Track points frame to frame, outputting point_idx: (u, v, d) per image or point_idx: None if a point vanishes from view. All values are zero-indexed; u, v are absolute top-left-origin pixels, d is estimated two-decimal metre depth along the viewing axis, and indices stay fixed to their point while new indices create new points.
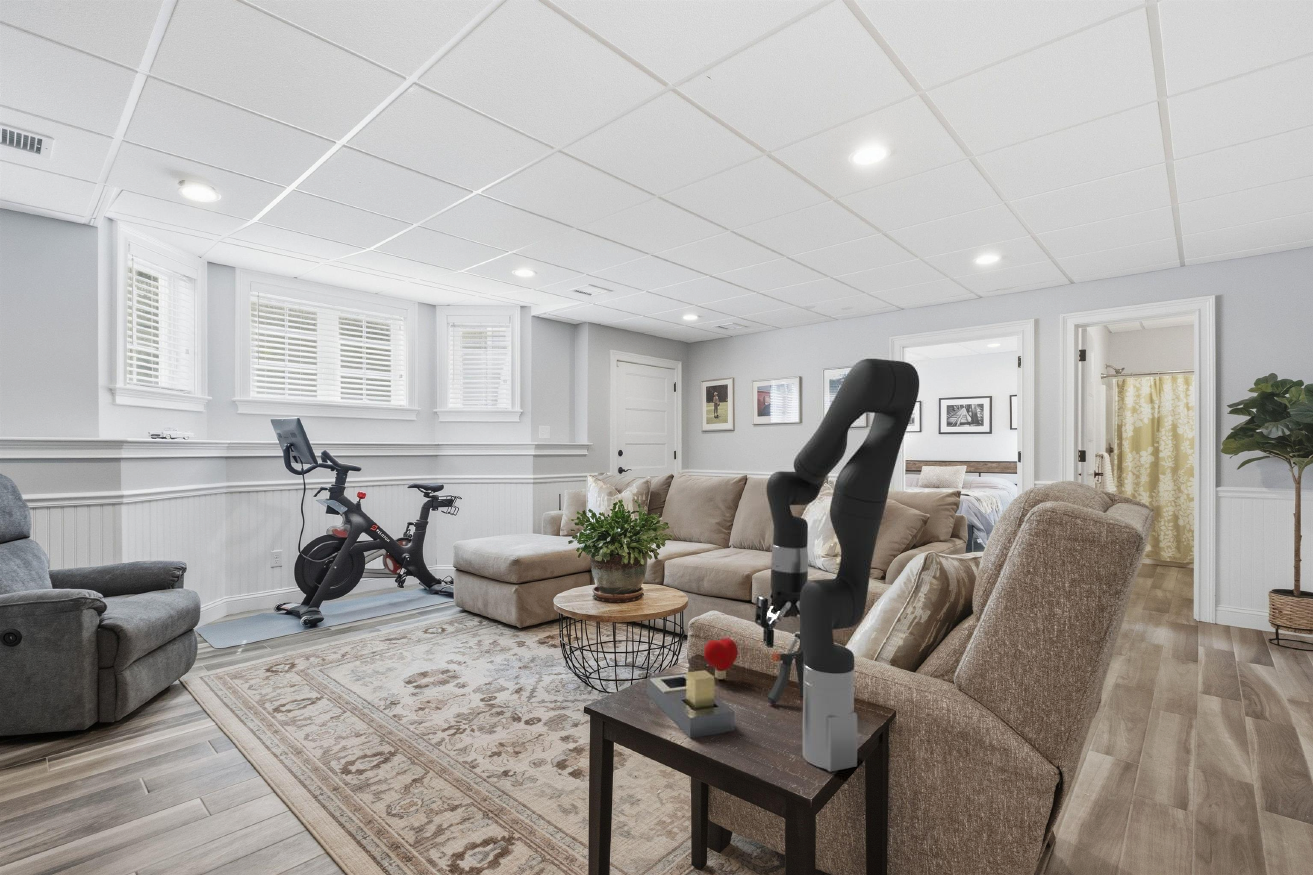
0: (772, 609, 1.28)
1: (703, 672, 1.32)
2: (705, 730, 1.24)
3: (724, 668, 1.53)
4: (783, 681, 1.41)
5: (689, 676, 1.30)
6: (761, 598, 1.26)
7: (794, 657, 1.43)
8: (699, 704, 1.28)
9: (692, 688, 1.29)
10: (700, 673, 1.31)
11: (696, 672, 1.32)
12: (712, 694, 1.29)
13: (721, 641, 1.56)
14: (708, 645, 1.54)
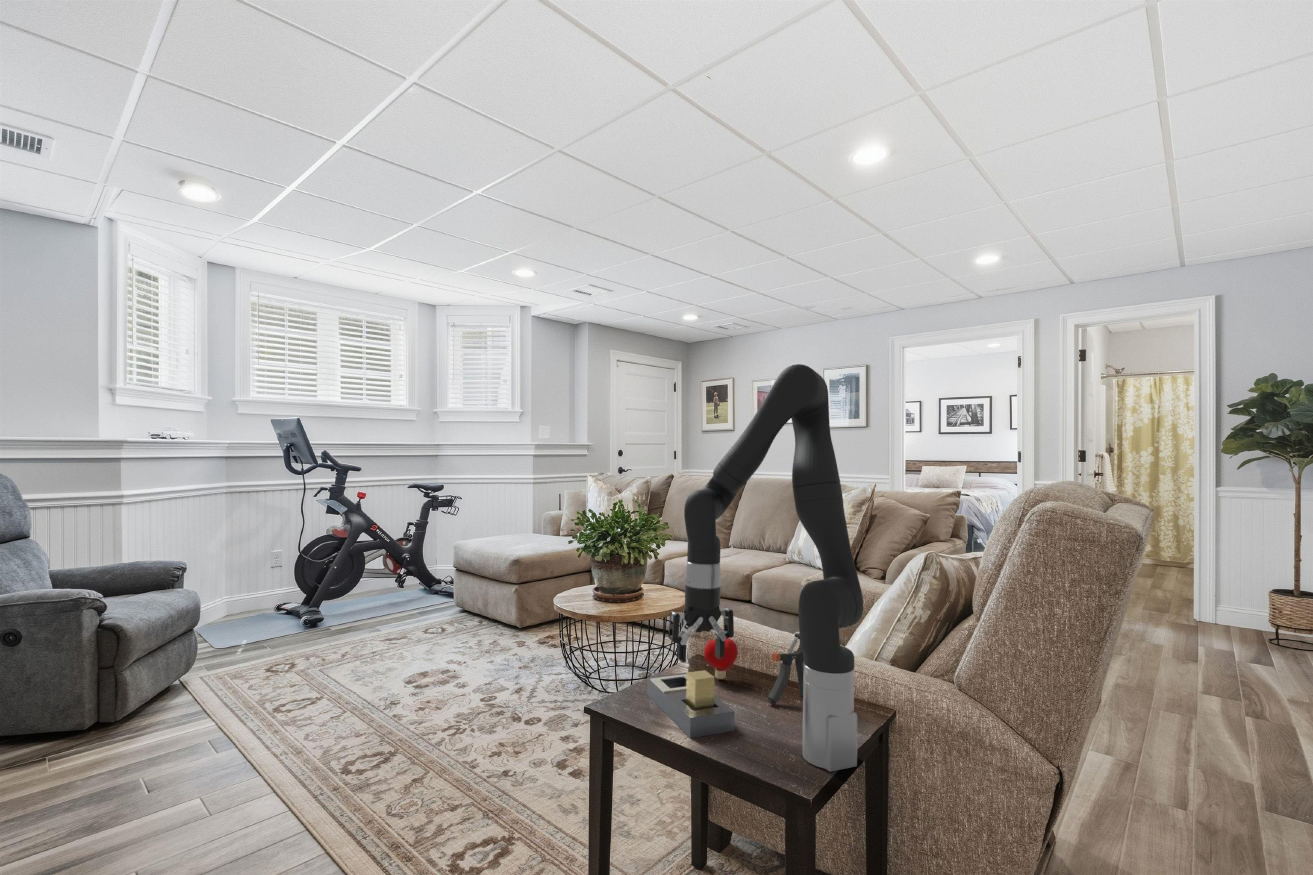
0: (686, 624, 1.31)
1: (703, 672, 1.32)
2: (705, 730, 1.24)
3: (724, 668, 1.53)
4: (783, 681, 1.41)
5: (689, 676, 1.30)
6: (673, 613, 1.28)
7: (794, 657, 1.43)
8: (699, 704, 1.28)
9: (692, 688, 1.29)
10: (700, 673, 1.31)
11: (696, 672, 1.32)
12: (712, 694, 1.29)
13: None
14: (708, 645, 1.54)
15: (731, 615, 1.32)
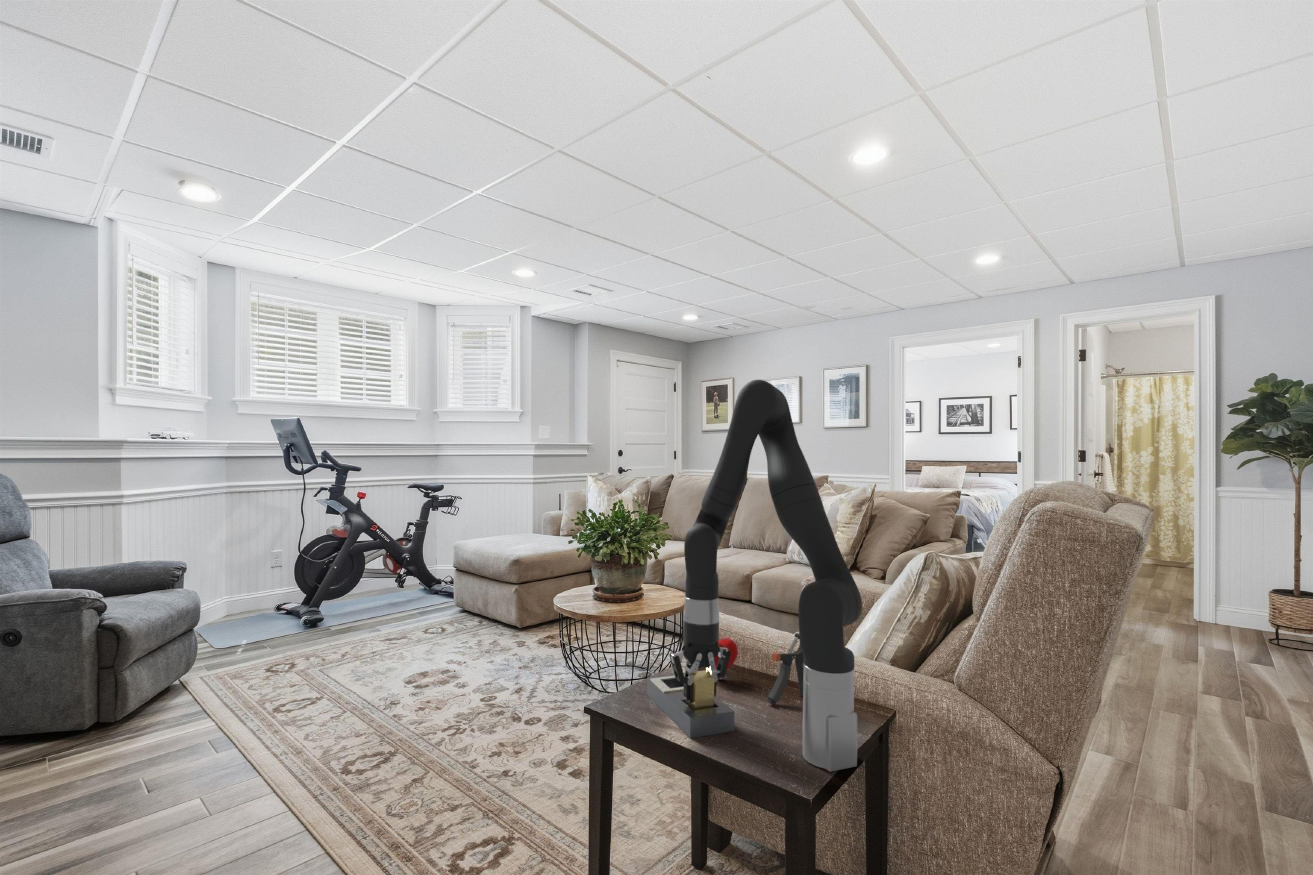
0: None
1: (703, 672, 1.32)
2: (705, 730, 1.24)
3: None
4: (783, 681, 1.41)
5: None
6: (672, 656, 1.28)
7: (794, 657, 1.43)
8: (699, 703, 1.28)
9: None
10: (700, 673, 1.31)
11: None
12: (712, 694, 1.29)
13: (721, 641, 1.56)
14: None
15: (728, 656, 1.32)
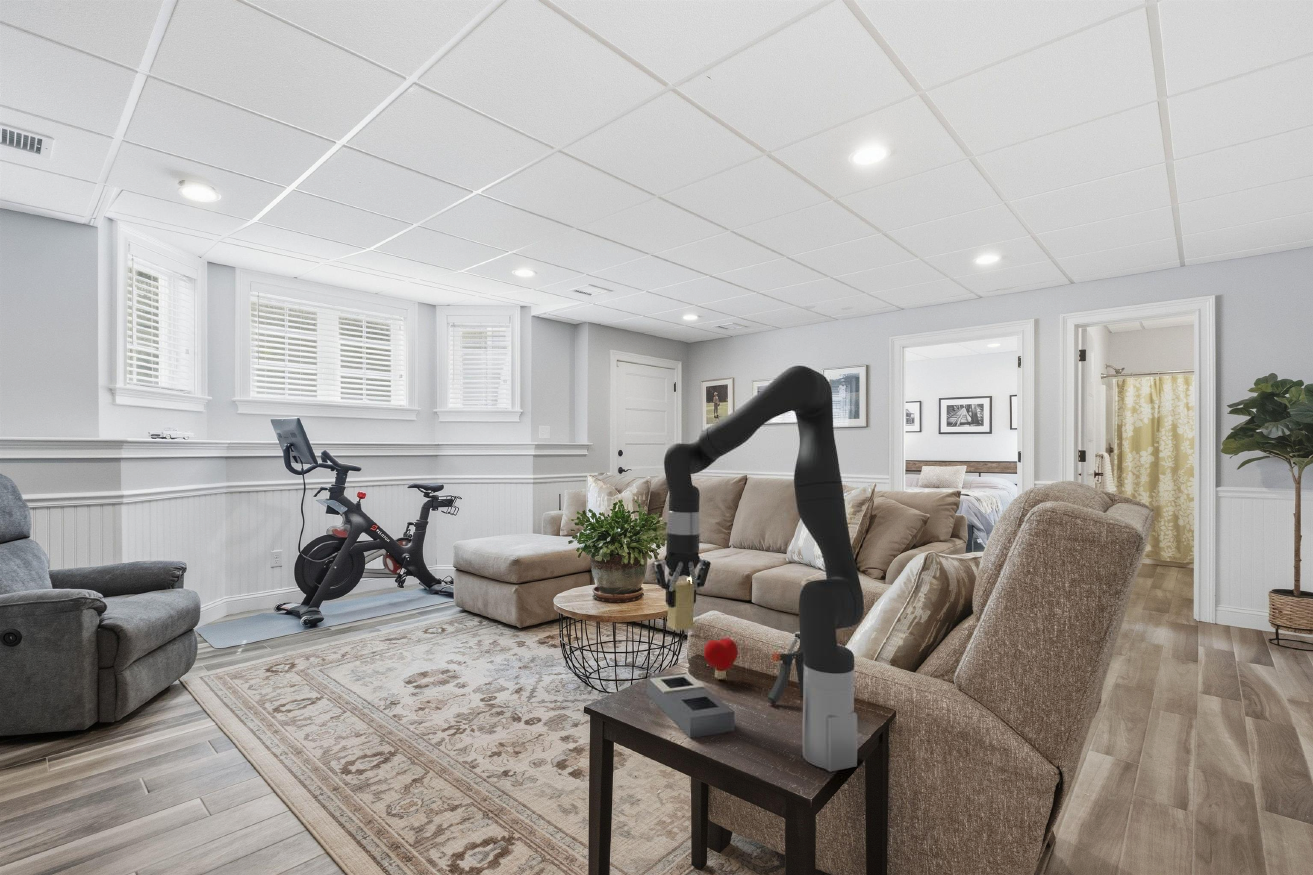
0: (670, 571, 1.41)
1: (684, 581, 1.42)
2: (705, 730, 1.24)
3: (724, 668, 1.53)
4: (783, 681, 1.41)
5: None
6: (655, 564, 1.38)
7: (794, 657, 1.43)
8: (679, 608, 1.38)
9: None
10: (681, 582, 1.41)
11: (677, 581, 1.42)
12: (692, 600, 1.39)
13: (721, 641, 1.56)
14: (708, 645, 1.54)
15: (708, 567, 1.42)
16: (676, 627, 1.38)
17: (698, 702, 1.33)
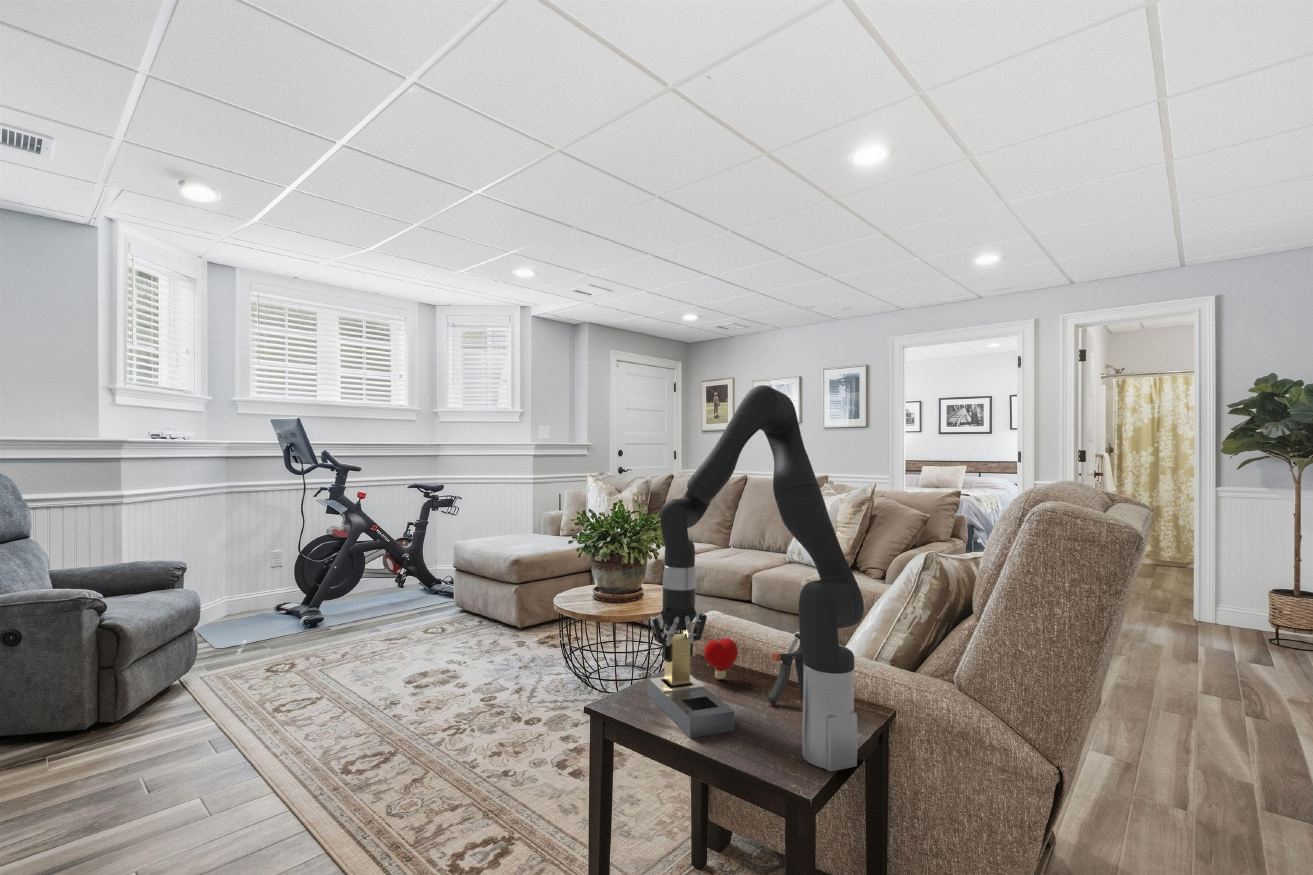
0: (667, 625, 1.42)
1: (680, 635, 1.43)
2: (705, 730, 1.24)
3: (724, 668, 1.53)
4: (783, 681, 1.41)
5: None
6: (652, 619, 1.39)
7: (794, 657, 1.43)
8: (676, 663, 1.39)
9: None
10: (678, 636, 1.42)
11: (674, 635, 1.43)
12: (688, 654, 1.40)
13: (721, 641, 1.56)
14: (708, 645, 1.54)
15: (704, 620, 1.43)
16: (673, 682, 1.39)
17: (698, 702, 1.33)
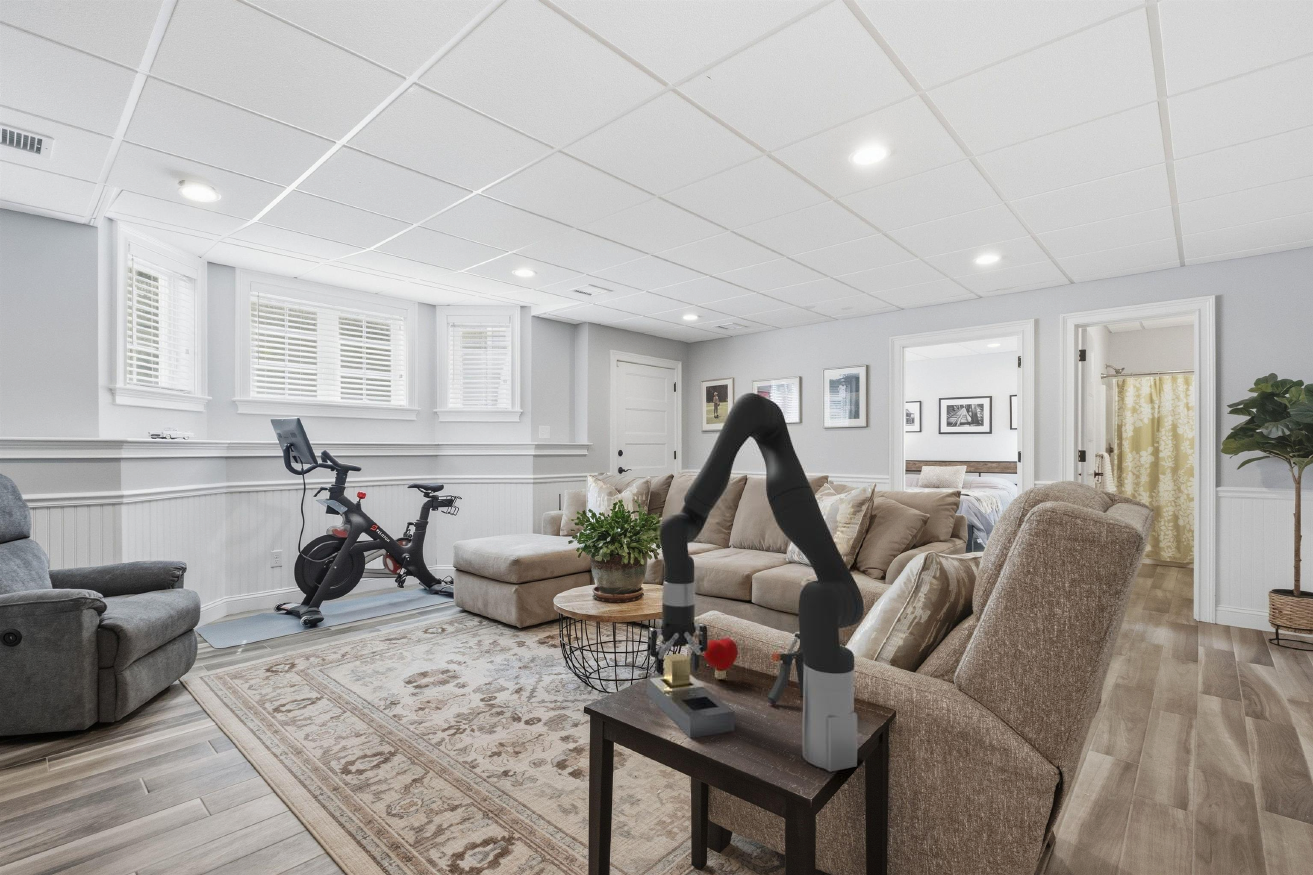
0: (663, 639, 1.42)
1: (680, 655, 1.43)
2: (705, 730, 1.24)
3: (724, 668, 1.53)
4: (783, 681, 1.41)
5: (667, 658, 1.41)
6: (651, 630, 1.39)
7: (794, 657, 1.43)
8: (676, 683, 1.39)
9: (669, 669, 1.40)
10: (677, 656, 1.42)
11: (673, 655, 1.43)
12: (688, 675, 1.40)
13: (721, 641, 1.56)
14: (708, 645, 1.54)
15: (705, 631, 1.43)
16: None
17: (698, 702, 1.33)
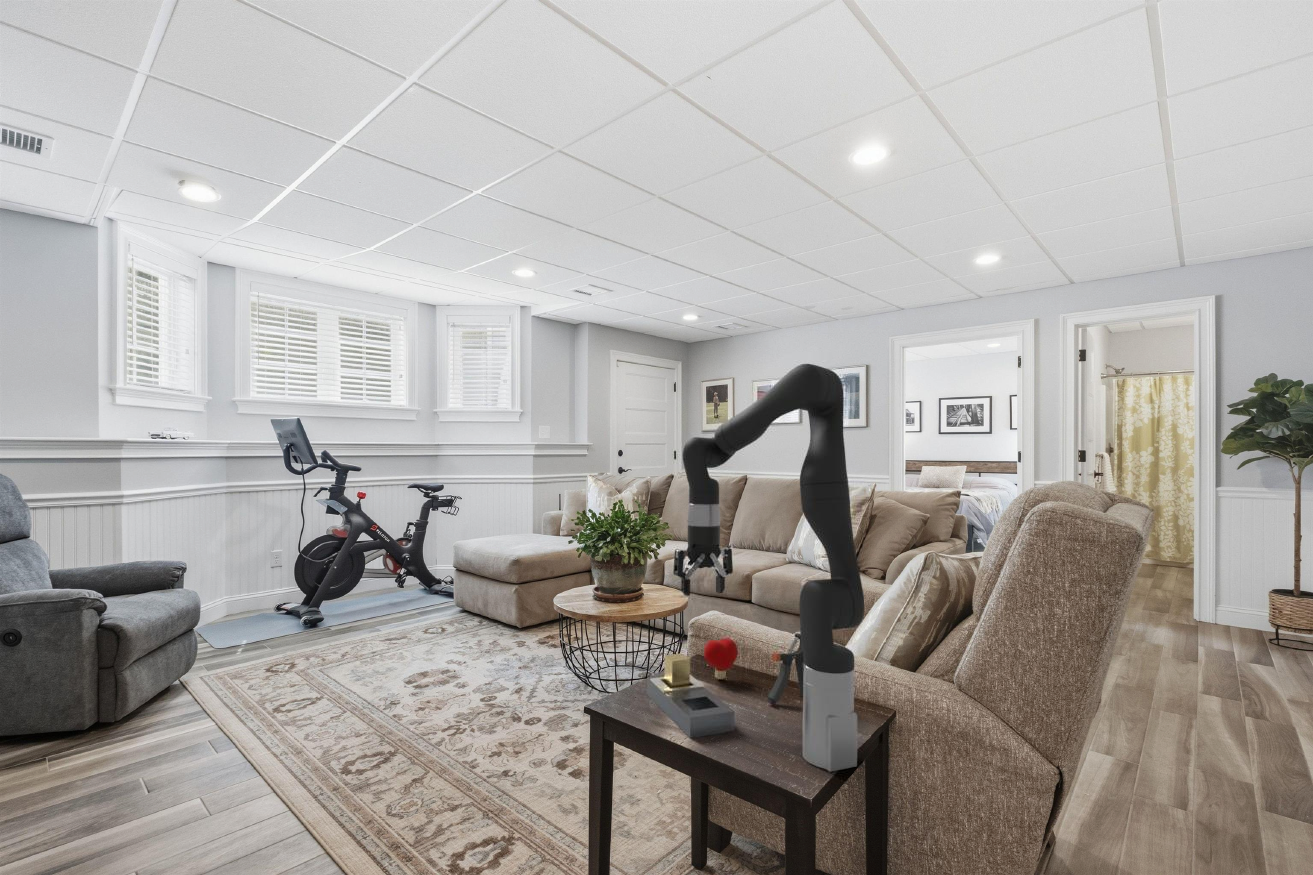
0: (689, 562, 1.42)
1: (680, 655, 1.43)
2: (705, 730, 1.24)
3: (724, 668, 1.53)
4: (783, 681, 1.41)
5: (667, 658, 1.41)
6: (678, 550, 1.40)
7: (794, 657, 1.43)
8: (676, 683, 1.39)
9: (669, 669, 1.40)
10: (677, 656, 1.42)
11: (673, 655, 1.43)
12: (688, 675, 1.40)
13: (721, 641, 1.56)
14: (708, 645, 1.54)
15: (730, 553, 1.44)
16: None
17: (698, 702, 1.33)
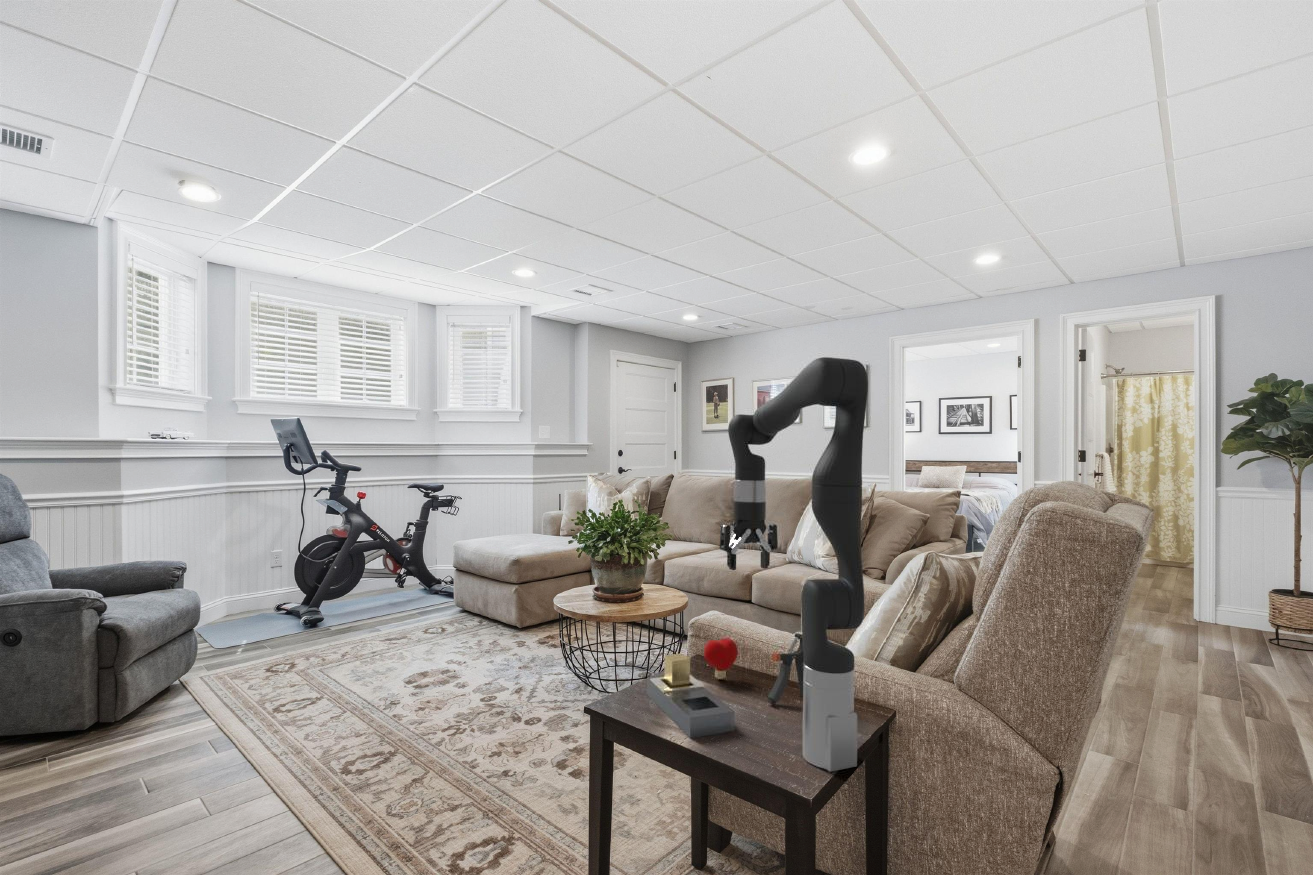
0: (735, 537, 1.45)
1: (680, 655, 1.43)
2: (705, 730, 1.24)
3: (724, 668, 1.53)
4: (783, 681, 1.41)
5: (667, 658, 1.41)
6: (724, 526, 1.42)
7: (794, 657, 1.43)
8: (676, 683, 1.39)
9: (669, 669, 1.40)
10: (677, 656, 1.42)
11: (673, 655, 1.43)
12: (688, 675, 1.40)
13: (721, 641, 1.56)
14: (708, 645, 1.54)
15: (775, 529, 1.46)
16: None
17: (698, 702, 1.33)
